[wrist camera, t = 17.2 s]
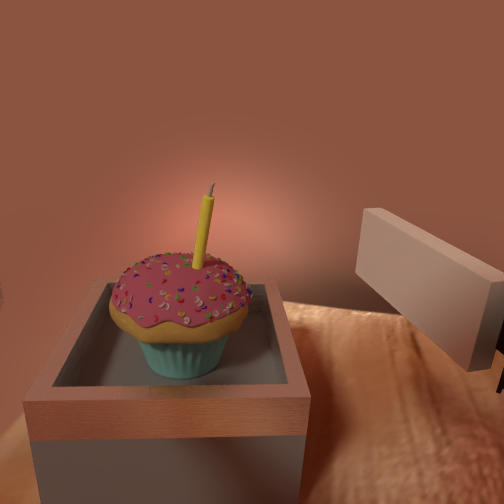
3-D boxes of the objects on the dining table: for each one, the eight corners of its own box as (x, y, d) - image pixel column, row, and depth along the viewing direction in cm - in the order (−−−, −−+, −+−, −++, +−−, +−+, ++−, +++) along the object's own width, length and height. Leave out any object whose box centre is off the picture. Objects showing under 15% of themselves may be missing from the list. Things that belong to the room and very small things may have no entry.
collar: (273, 306, 36) (275, 278, 35) (306, 435, 23) (311, 396, 22) (100, 305, 34) (97, 277, 33) (29, 441, 21) (22, 400, 20)
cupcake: (265, 341, 31) (276, 174, 26) (211, 420, 23) (215, 206, 19) (161, 314, 33) (156, 159, 29) (84, 377, 26) (62, 182, 22)
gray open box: (268, 366, 38) (273, 306, 36) (296, 515, 25) (306, 435, 23) (105, 367, 36) (100, 305, 34) (45, 525, 23) (29, 441, 21)
